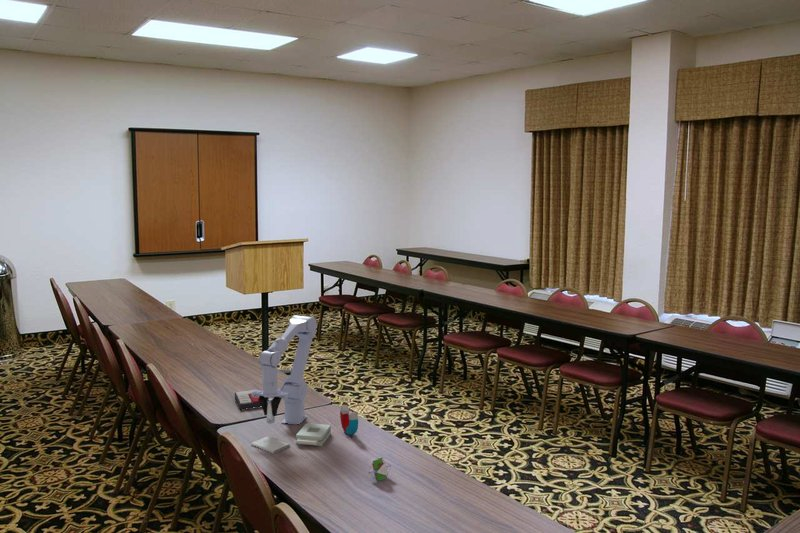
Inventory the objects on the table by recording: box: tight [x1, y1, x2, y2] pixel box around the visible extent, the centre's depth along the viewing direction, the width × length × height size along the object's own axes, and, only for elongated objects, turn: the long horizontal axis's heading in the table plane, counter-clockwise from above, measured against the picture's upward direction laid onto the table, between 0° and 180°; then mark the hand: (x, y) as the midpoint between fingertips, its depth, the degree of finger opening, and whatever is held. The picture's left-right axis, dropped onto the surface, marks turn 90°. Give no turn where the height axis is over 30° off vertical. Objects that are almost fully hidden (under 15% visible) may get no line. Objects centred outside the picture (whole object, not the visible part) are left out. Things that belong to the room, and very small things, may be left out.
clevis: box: [295, 422, 332, 447], centre depth 241 cm, size 14×10×4 cm
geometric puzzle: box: [368, 457, 392, 482], centre depth 209 cm, size 7×7×8 cm
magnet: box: [339, 404, 359, 436], centre depth 247 cm, size 12×3×10 cm, turn 29°
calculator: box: [234, 389, 261, 410], centre depth 280 cm, size 11×4×15 cm
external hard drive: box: [250, 436, 291, 454], centre depth 235 cm, size 2×8×12 cm
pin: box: [266, 398, 276, 425], centre depth 245 cm, size 3×3×9 cm
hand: (270, 414), depth 245 cm, fingers closed on pin, 3 cm apart
